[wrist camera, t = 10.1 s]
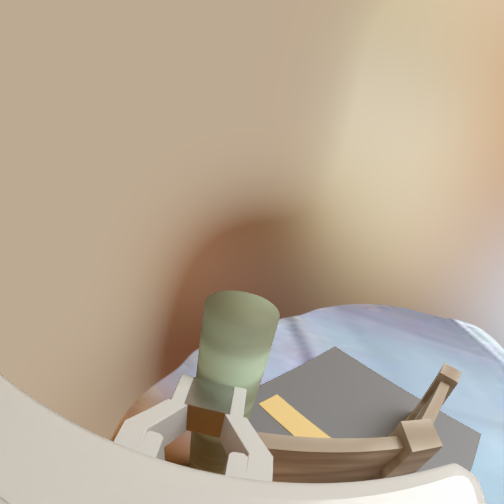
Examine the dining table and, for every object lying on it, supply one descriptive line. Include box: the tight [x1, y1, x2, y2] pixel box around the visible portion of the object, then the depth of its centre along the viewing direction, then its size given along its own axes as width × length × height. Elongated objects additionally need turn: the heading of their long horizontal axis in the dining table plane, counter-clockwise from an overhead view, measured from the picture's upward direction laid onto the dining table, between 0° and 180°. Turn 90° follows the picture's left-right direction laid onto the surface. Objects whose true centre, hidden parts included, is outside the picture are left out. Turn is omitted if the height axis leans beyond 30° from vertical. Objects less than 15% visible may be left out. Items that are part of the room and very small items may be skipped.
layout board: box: [248, 347, 481, 473], centre depth 20 cm, size 26×21×1 cm
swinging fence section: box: [189, 291, 443, 483], centre depth 13 cm, size 3×17×15 cm, turn 86°
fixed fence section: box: [407, 363, 461, 423], centre depth 19 cm, size 2×9×8 cm, turn 130°
